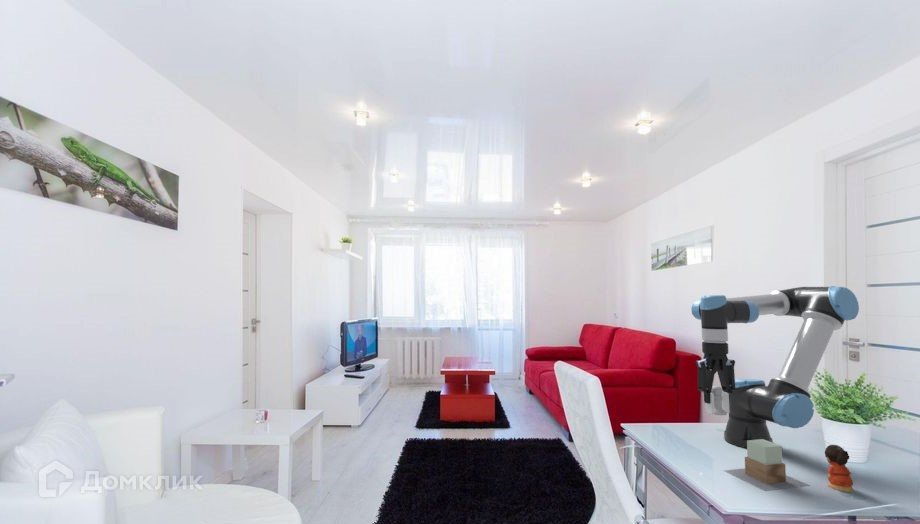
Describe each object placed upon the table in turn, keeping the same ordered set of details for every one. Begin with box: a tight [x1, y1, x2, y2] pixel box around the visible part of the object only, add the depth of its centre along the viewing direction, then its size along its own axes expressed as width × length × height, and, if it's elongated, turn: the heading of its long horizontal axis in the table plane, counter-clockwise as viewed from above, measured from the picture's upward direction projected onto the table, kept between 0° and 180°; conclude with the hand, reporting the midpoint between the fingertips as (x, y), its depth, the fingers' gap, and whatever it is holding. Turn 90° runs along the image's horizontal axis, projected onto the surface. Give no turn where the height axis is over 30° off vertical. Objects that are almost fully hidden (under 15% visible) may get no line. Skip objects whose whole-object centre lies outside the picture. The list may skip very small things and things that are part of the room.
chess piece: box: [711, 385, 728, 416], centre depth 143 cm, size 5×5×9 cm
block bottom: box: [744, 456, 787, 484], centre depth 129 cm, size 7×7×5 cm
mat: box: [723, 467, 811, 492], centre depth 128 cm, size 16×14×1 cm
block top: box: [746, 439, 783, 465], centre depth 129 cm, size 6×6×5 cm
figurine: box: [824, 444, 855, 493], centre depth 123 cm, size 6×6×12 cm
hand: (717, 412), depth 142 cm, fingers closed on chess piece, 5 cm apart
